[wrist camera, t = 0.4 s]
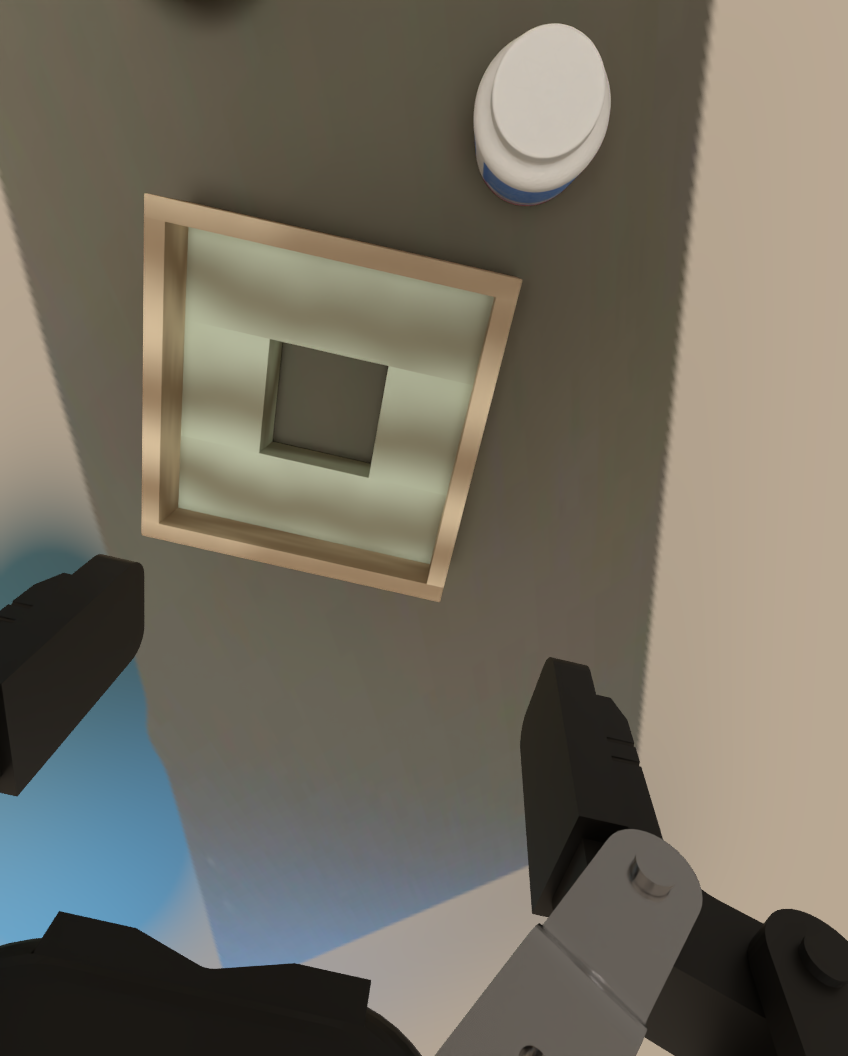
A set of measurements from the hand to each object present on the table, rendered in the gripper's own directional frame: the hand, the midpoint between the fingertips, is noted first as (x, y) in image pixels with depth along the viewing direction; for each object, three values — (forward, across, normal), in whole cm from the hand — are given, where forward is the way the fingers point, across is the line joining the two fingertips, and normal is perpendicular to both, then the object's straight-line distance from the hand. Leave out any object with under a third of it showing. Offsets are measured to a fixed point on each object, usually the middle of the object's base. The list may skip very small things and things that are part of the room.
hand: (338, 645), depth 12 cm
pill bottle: (+26, -2, -12) cm, 29 cm away
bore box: (+26, +6, +3) cm, 27 cm away
